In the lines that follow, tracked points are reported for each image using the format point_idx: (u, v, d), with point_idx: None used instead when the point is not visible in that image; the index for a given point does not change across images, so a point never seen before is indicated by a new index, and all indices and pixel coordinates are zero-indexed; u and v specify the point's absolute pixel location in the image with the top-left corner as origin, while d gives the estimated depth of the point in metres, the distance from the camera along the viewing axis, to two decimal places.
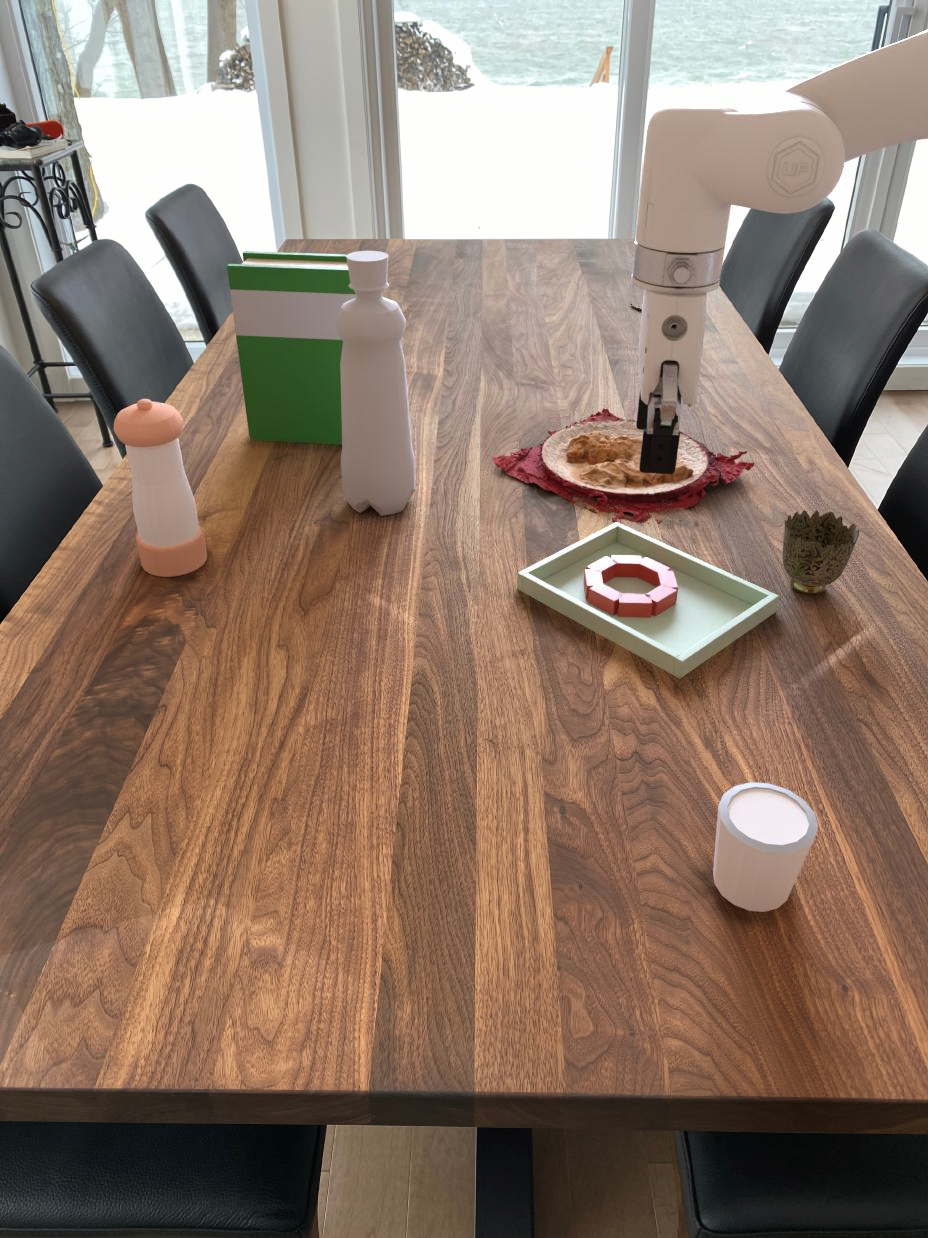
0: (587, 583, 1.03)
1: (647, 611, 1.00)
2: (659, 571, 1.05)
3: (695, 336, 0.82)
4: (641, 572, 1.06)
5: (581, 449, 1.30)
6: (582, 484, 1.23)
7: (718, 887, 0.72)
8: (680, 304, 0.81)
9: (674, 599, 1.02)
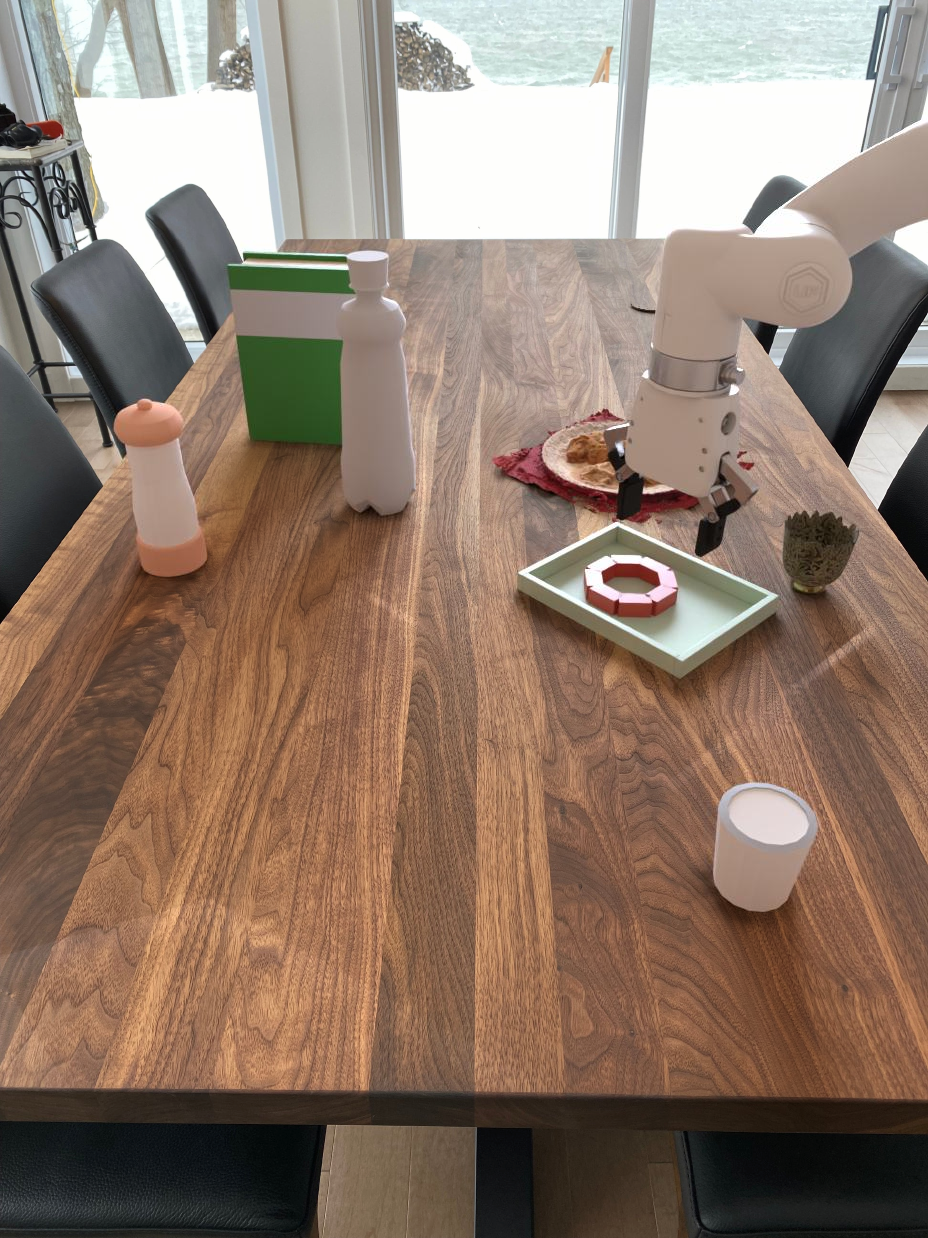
0: (587, 583, 1.03)
1: (647, 611, 1.00)
2: (659, 571, 1.05)
3: (738, 424, 0.89)
4: (641, 572, 1.06)
5: (581, 449, 1.30)
6: (582, 484, 1.23)
7: (718, 887, 0.72)
8: (731, 402, 0.86)
9: (674, 599, 1.02)
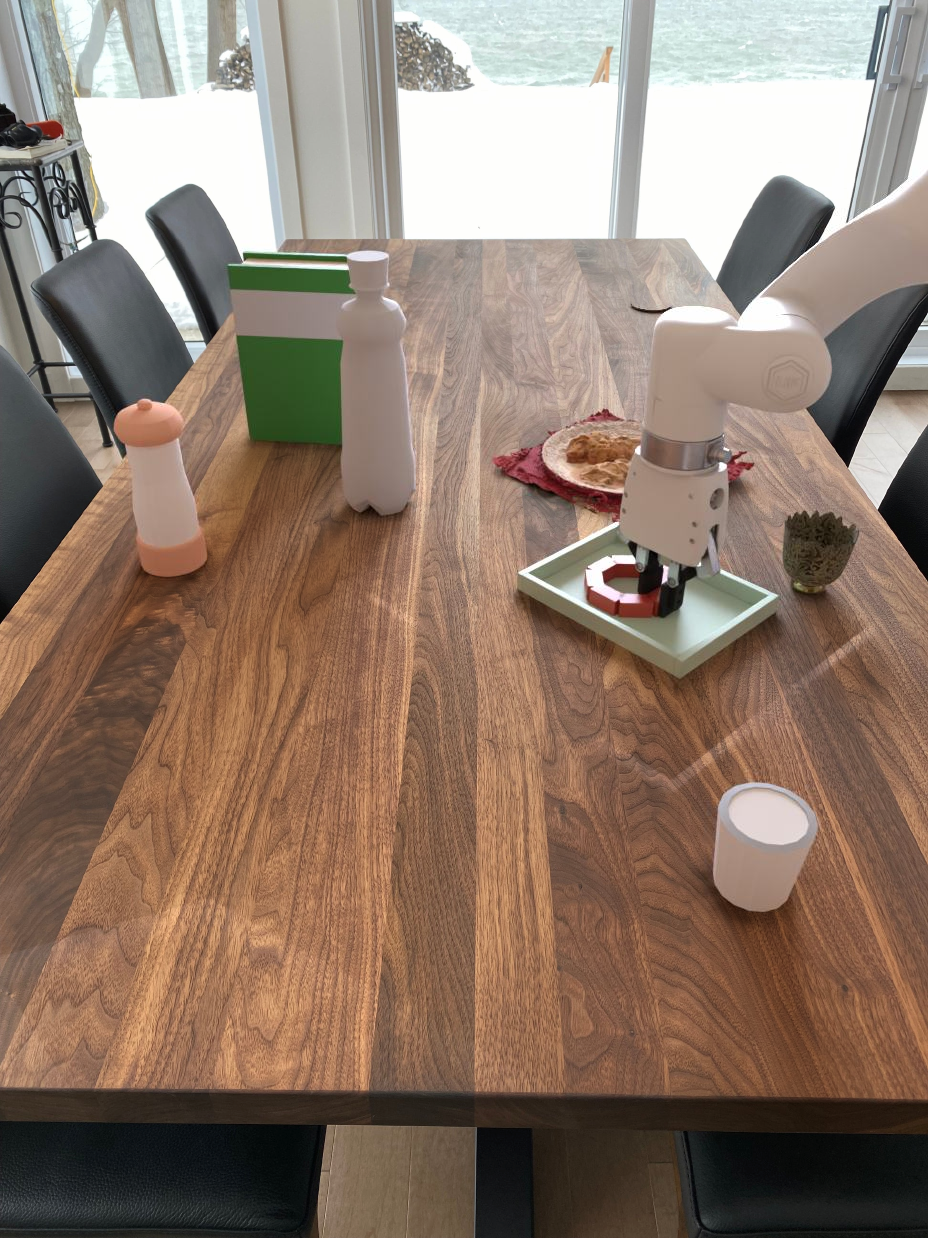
0: (588, 583, 1.03)
1: (648, 612, 1.00)
2: None
3: (727, 498, 0.93)
4: None
5: (581, 449, 1.30)
6: (582, 484, 1.23)
7: (718, 887, 0.72)
8: (719, 479, 0.91)
9: None
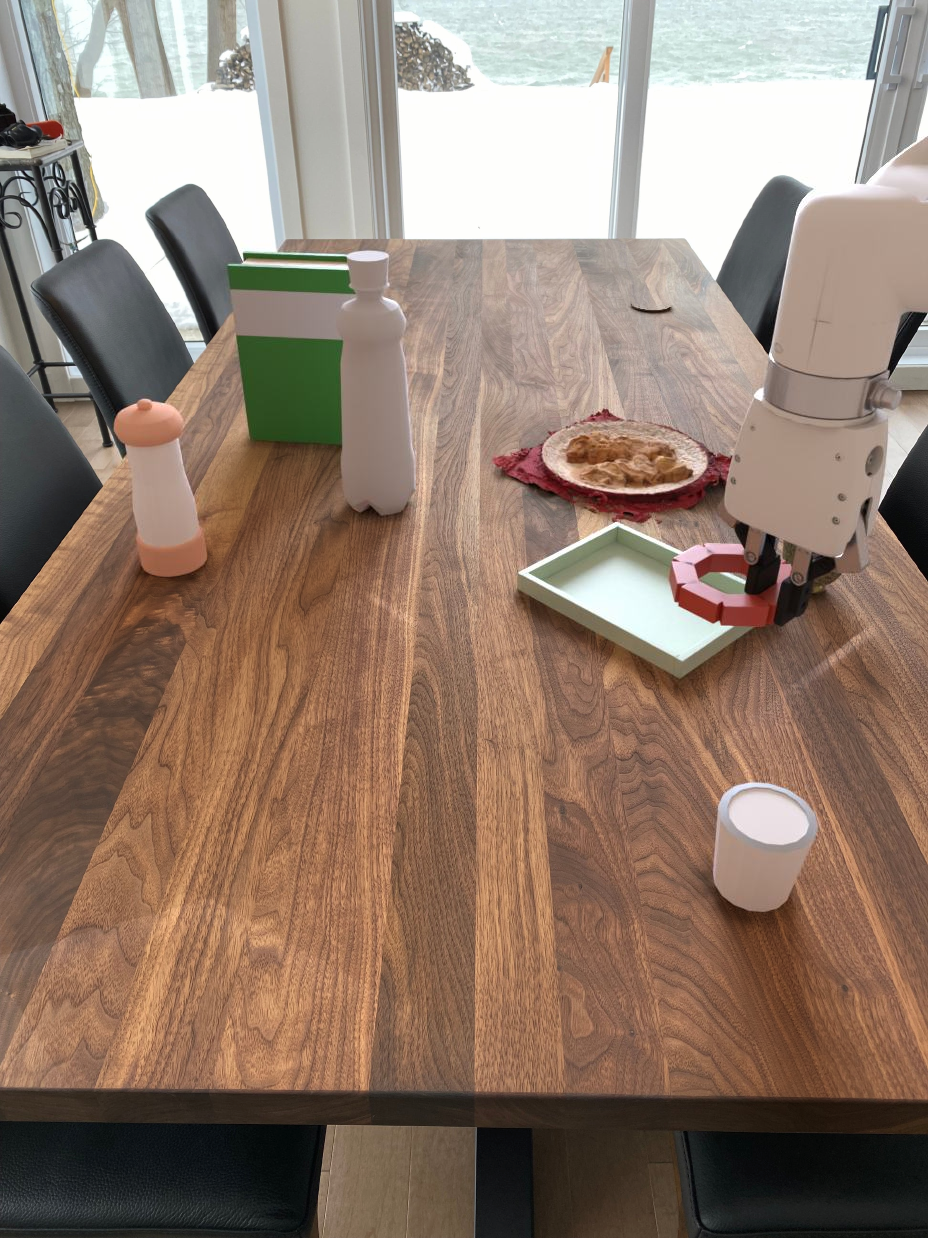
0: (677, 580, 0.77)
1: (762, 618, 0.74)
2: None
3: (885, 462, 0.67)
4: (745, 566, 0.80)
5: (581, 449, 1.30)
6: (581, 484, 1.23)
7: (718, 887, 0.72)
8: (879, 432, 0.64)
9: None
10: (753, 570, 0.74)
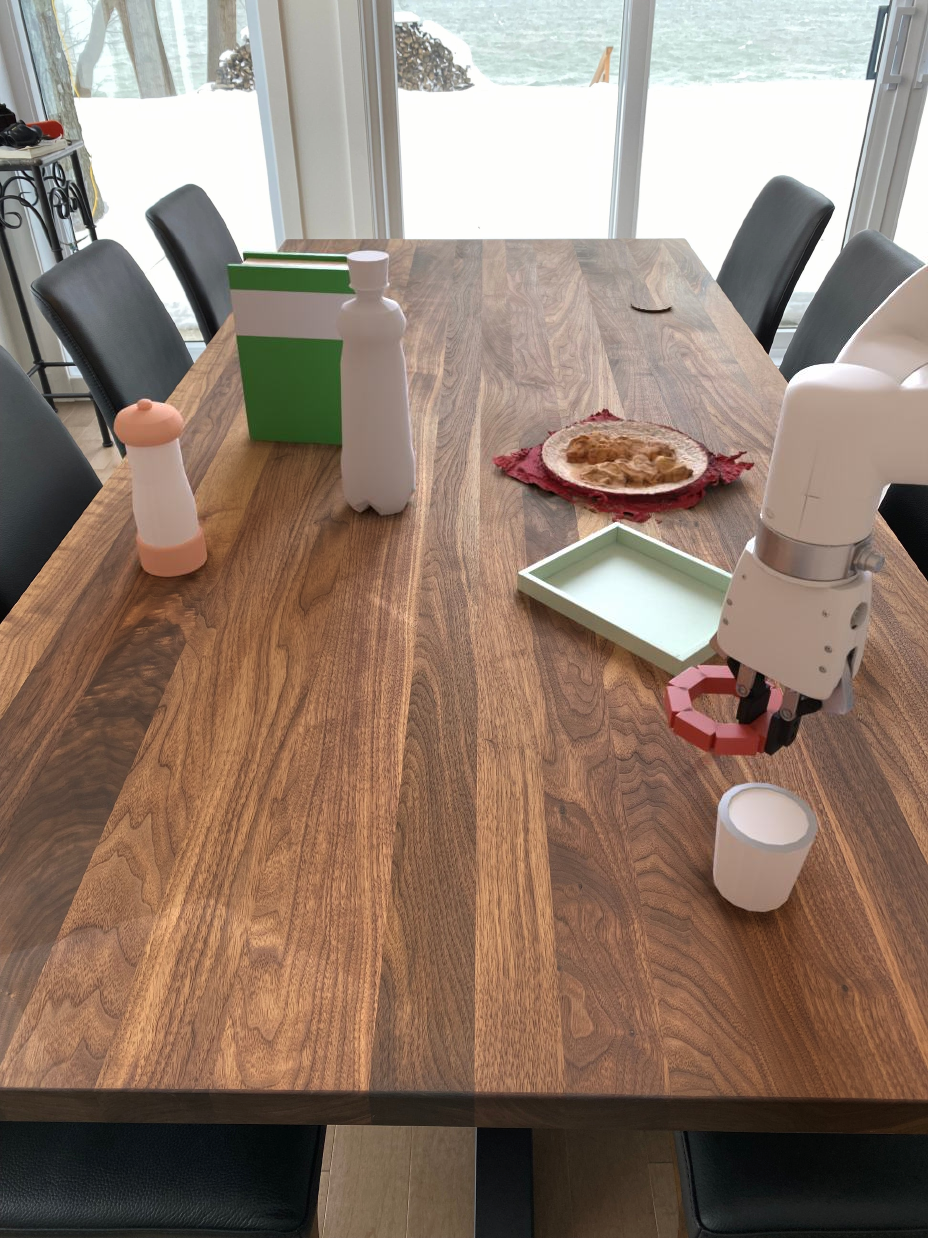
0: (672, 708, 0.80)
1: (753, 748, 0.78)
2: None
3: (869, 614, 0.70)
4: None
5: (581, 449, 1.30)
6: (581, 484, 1.23)
7: (718, 887, 0.72)
8: (864, 591, 0.68)
9: None
10: (744, 702, 0.78)
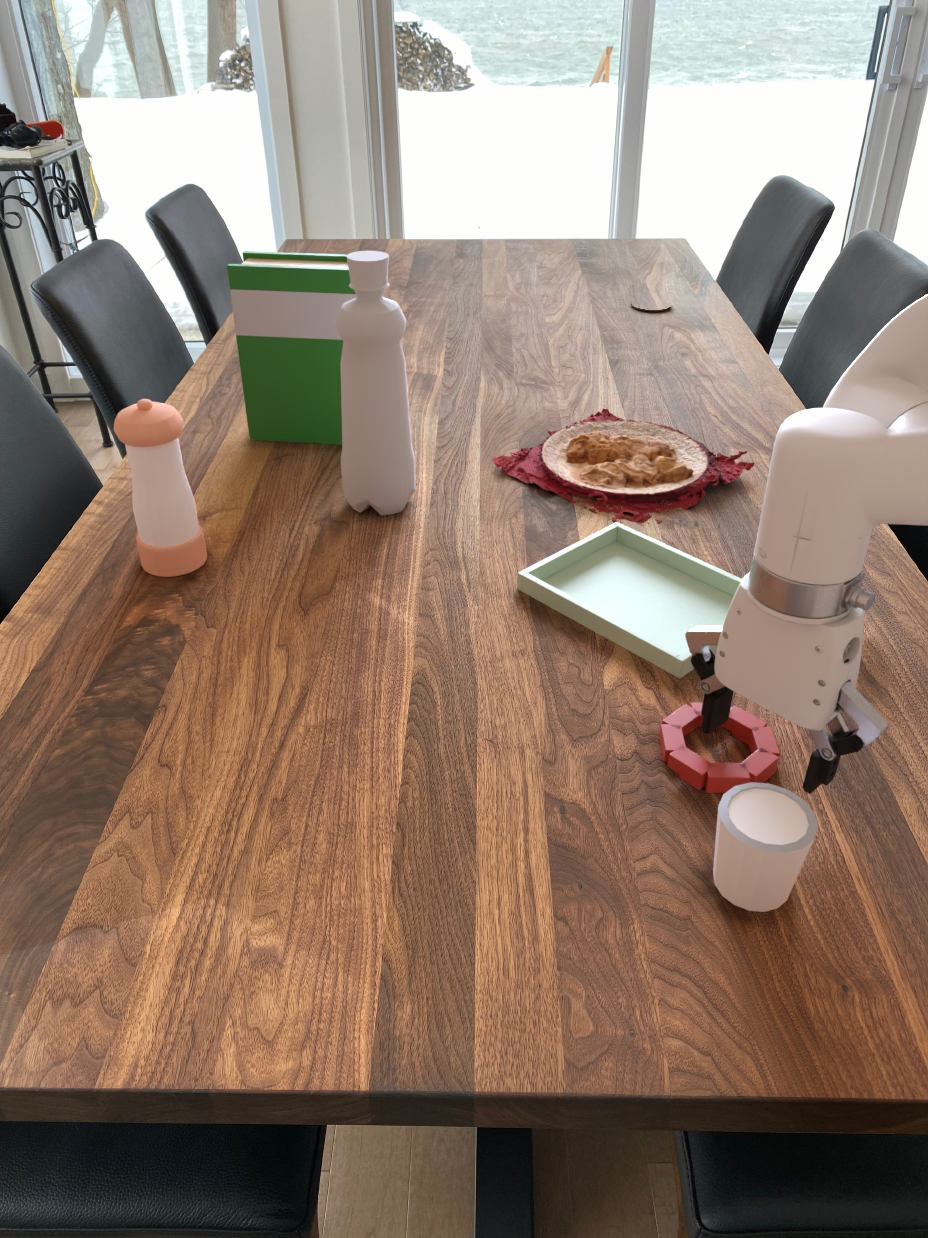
0: (666, 746, 0.83)
1: None
2: (754, 728, 0.85)
3: (861, 647, 0.72)
4: (729, 726, 0.86)
5: (581, 449, 1.30)
6: (581, 484, 1.23)
7: (718, 887, 0.72)
8: (855, 626, 0.70)
9: (775, 768, 0.82)
10: (708, 699, 0.81)
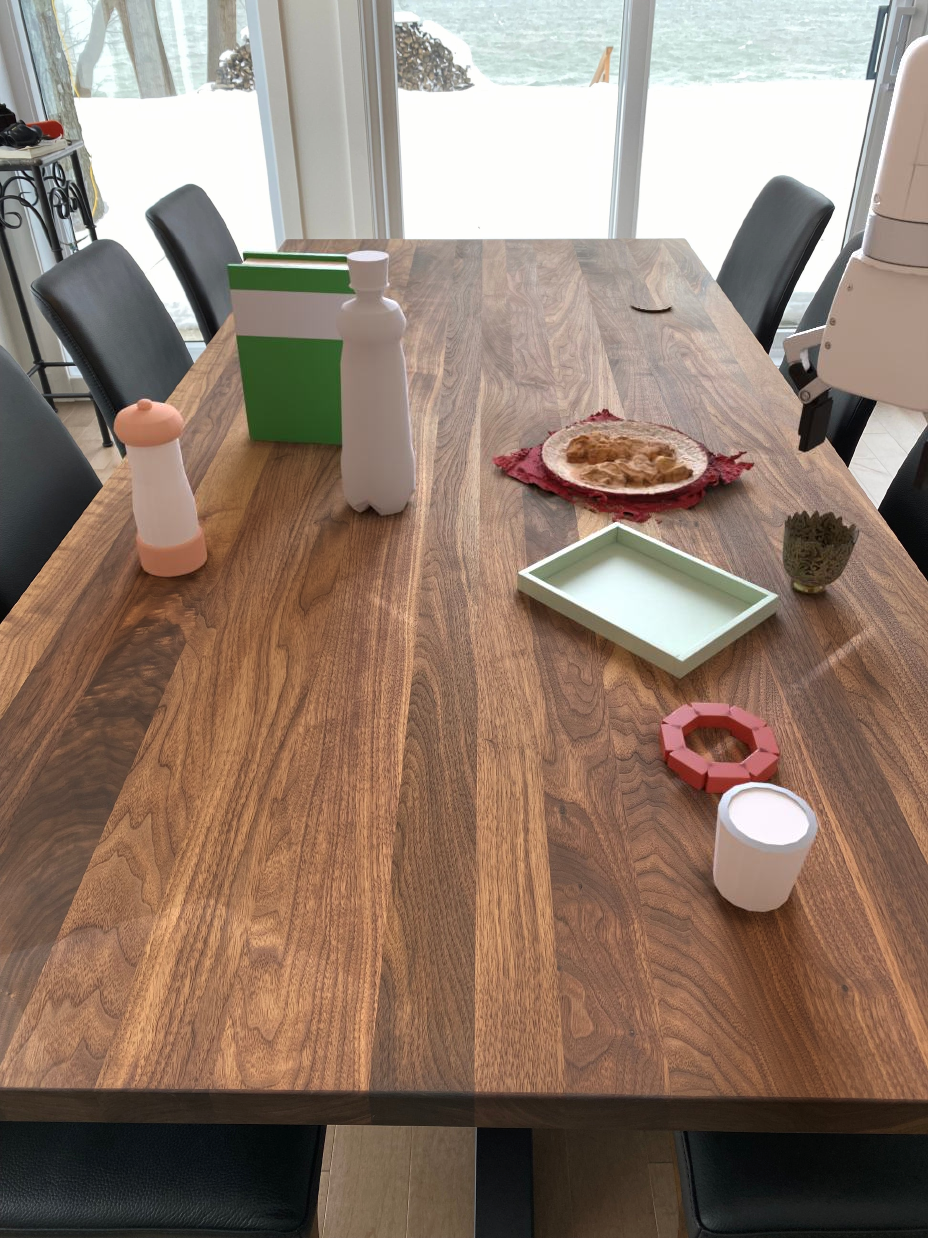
0: (666, 746, 0.83)
1: None
2: (754, 728, 0.85)
3: None
4: (729, 726, 0.86)
5: (581, 449, 1.30)
6: (581, 484, 1.23)
7: (718, 888, 0.72)
8: None
9: (775, 768, 0.82)
10: (808, 408, 0.77)
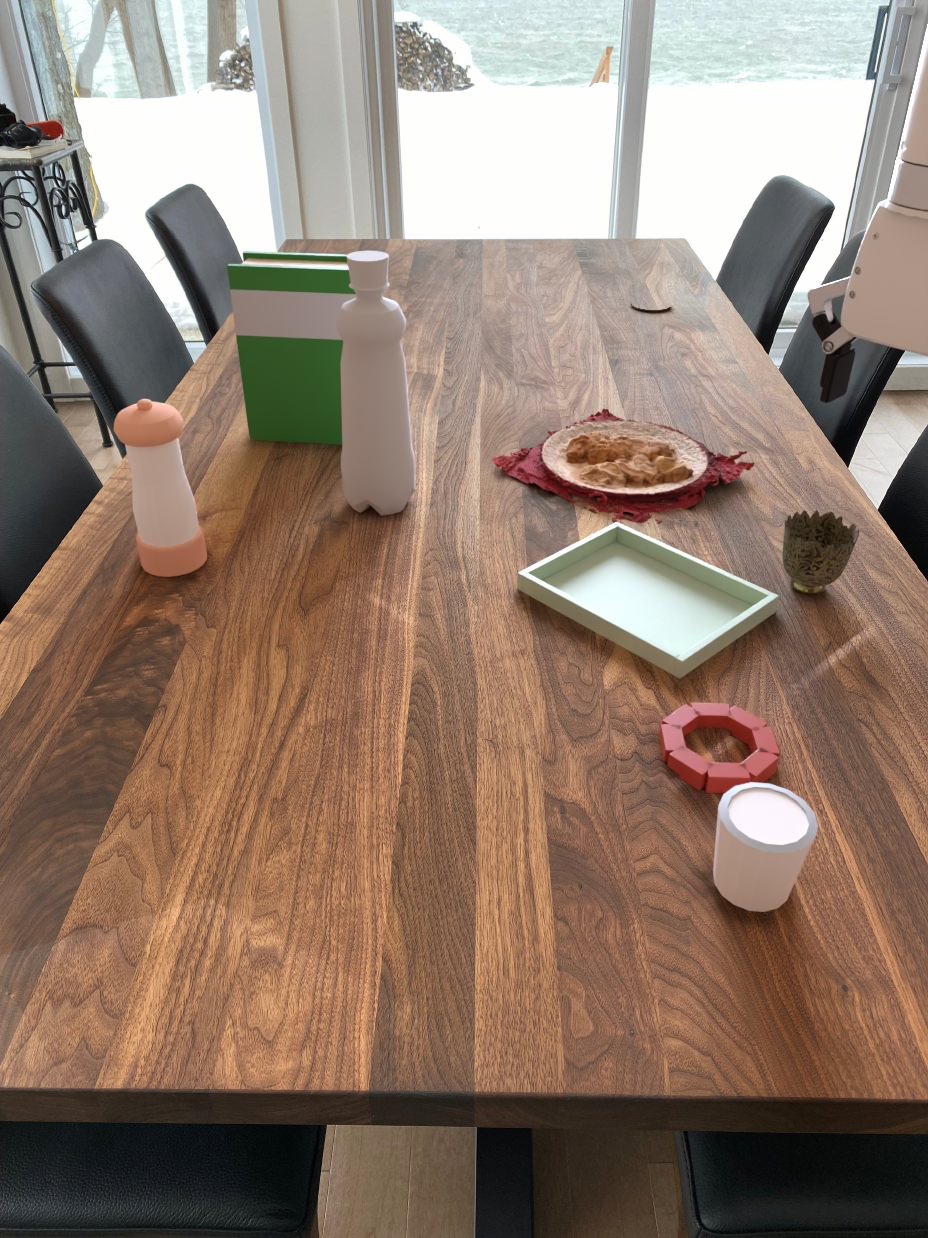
0: (666, 746, 0.83)
1: None
2: (754, 728, 0.85)
3: None
4: (729, 726, 0.86)
5: (581, 449, 1.30)
6: (581, 484, 1.23)
7: (718, 887, 0.72)
8: None
9: (775, 768, 0.82)
10: (831, 358, 0.79)
